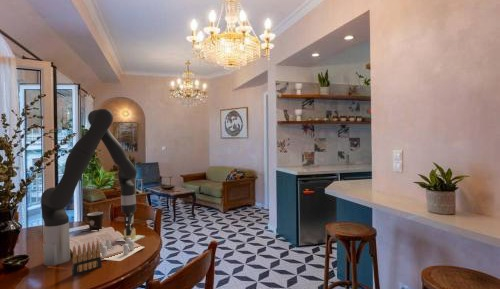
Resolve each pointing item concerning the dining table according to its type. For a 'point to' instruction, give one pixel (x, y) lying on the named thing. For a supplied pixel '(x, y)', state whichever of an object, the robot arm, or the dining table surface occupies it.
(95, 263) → the ammunition clip
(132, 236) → the brass nut
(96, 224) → the coffee mug
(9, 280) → the dining table surface
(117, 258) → the spacer plate
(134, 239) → the rubber mat
